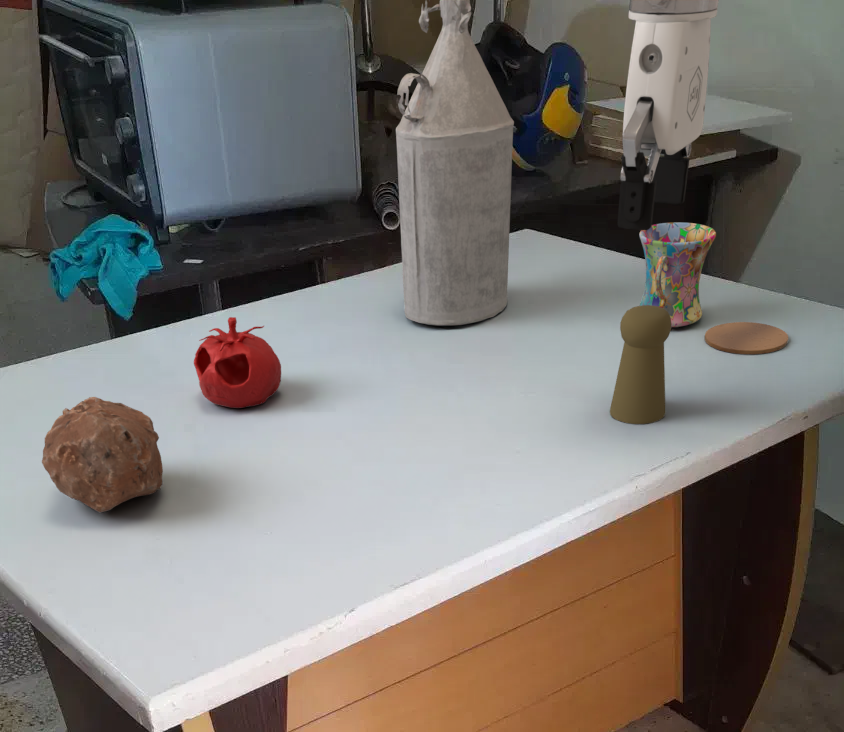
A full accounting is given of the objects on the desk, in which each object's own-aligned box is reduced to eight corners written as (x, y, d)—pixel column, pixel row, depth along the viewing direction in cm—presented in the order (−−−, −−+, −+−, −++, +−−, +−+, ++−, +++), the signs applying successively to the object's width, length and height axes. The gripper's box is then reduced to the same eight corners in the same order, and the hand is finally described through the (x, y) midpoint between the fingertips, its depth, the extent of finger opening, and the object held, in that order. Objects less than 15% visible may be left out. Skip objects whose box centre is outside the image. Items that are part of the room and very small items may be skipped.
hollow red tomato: (240, 376, 125) (226, 297, 119) (301, 391, 120) (291, 310, 114) (182, 404, 119) (165, 323, 113) (244, 421, 114) (230, 338, 108)
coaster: (796, 331, 127) (796, 327, 127) (776, 359, 121) (777, 354, 120) (717, 322, 131) (718, 318, 131) (694, 348, 125) (694, 344, 124)
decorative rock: (177, 517, 98) (154, 417, 92) (59, 538, 96) (26, 438, 89) (164, 461, 108) (142, 367, 101) (56, 479, 106) (27, 385, 99)
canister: (379, 321, 138) (351, -50, 112) (460, 286, 147) (451, -63, 121) (451, 339, 131) (439, -51, 105) (530, 301, 141) (538, -64, 114)
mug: (644, 305, 137) (652, 219, 130) (712, 312, 134) (724, 225, 127) (615, 335, 129) (622, 245, 122) (687, 343, 126) (699, 252, 119)
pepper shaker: (652, 428, 108) (664, 322, 101) (600, 417, 111) (607, 313, 103) (674, 407, 112) (686, 303, 105) (623, 397, 114) (631, 296, 107)
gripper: (685, 8, 80) (659, 243, 91) (745, -14, 91) (715, 197, 102) (596, 7, 83) (581, 234, 94) (664, -15, 94) (644, 191, 105)
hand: (651, 215), depth 98 cm, fingers open, 9 cm apart
